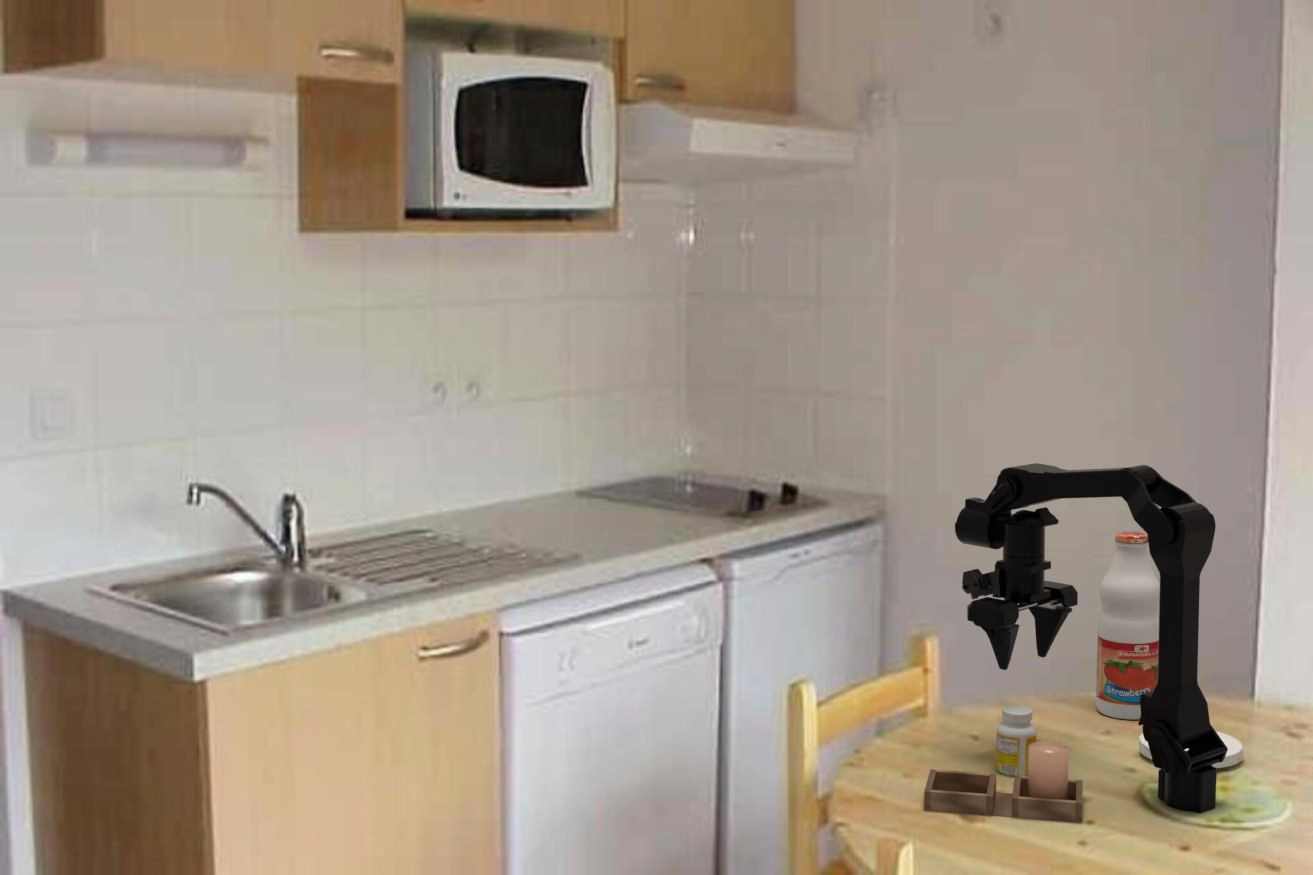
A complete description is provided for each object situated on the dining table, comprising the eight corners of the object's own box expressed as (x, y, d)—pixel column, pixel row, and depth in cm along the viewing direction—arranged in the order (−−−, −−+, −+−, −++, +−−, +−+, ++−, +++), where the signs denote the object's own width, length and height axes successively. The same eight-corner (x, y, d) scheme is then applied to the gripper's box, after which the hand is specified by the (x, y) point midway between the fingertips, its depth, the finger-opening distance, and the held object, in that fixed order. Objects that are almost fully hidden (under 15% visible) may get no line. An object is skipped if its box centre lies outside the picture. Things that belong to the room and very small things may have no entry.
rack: (1082, 806, 212) (1082, 780, 212) (1081, 830, 204) (1082, 803, 204) (930, 794, 217) (930, 769, 217) (924, 817, 209) (924, 791, 208)
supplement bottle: (1002, 785, 220) (1003, 716, 219) (990, 771, 226) (991, 704, 224) (1041, 783, 221) (1042, 714, 220) (1028, 770, 226) (1029, 703, 225)
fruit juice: (1147, 701, 257) (1152, 527, 253) (1167, 720, 248) (1173, 539, 244) (1087, 703, 257) (1092, 528, 253) (1106, 721, 247) (1111, 540, 243)
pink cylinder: (1075, 809, 208) (1077, 748, 207) (1049, 817, 206) (1050, 756, 205) (1045, 798, 213) (1046, 738, 211) (1019, 806, 210) (1020, 746, 209)
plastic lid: (1264, 765, 228) (1265, 748, 227) (1188, 782, 222) (1189, 764, 221) (1191, 737, 240) (1191, 721, 240) (1117, 752, 234) (1118, 735, 234)
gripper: (1014, 537, 240) (1014, 640, 242) (935, 556, 227) (935, 665, 229) (1080, 547, 231) (1079, 654, 233) (1002, 567, 219) (1001, 680, 221)
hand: (1022, 662), depth 229 cm, fingers open, 9 cm apart
